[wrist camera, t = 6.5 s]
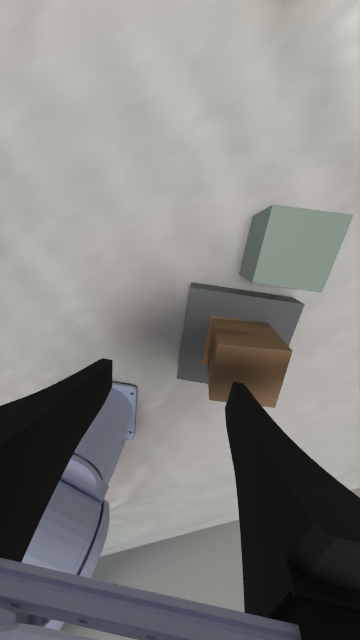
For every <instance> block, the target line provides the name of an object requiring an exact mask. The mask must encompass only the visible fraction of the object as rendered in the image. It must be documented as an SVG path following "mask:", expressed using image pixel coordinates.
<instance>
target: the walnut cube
mask: <svg viewBox="0 0 360 640" xmlns="http://www.w3.org/2000/svg"><path fill="white" fill-rule="evenodd" d="M291 354H292V350H291V349H290V348H289V346H288V345H287V344H286V343H285V342H284V341H283V340H282V338H281V337H280V336H279V335H278V334H277V333H276V331H275V330H274V329H273V328H272V327H271V326H270V325H269V323H262V322H250V321H239V320H227V319H215V318H213V323H212V331H211V339H210V347H209V355H208V363H207V365H208V383H209V400H214V401H222V402H227V400H228V397H229V394H230V390H231V387H232V384H233V382H239V383H244V384H245V386H246V387H247V388H248V389H249V391H250V392H251V393H252V395H253V396H254V397H255V399H256V400H257V401H258V402H259V404H260V405H261V406H265V407H273V408H275V406H276V402H277V399H278V396H279V393H280V390H281V386H282V383H283V380H284V377H285V373H286V370H287V367H288V364H289V361H290V357H291Z"/></svg>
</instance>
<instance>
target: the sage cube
mask: <svg viewBox="0 0 360 640" xmlns="http://www.w3.org/2000/svg"><path fill="white" fill-rule="evenodd" d="M352 217H353V215H352V214H344V213H336V212H327V211H319V210H311V209H302V208H294V207H285V206H277V205H272V206H270V207H268V208H266V209H265V210H263V211H261V212H259V213H258V214H256V215H254V216H253V218H252V222H251V227H250V231H249V235H248V239H247V244H246V248H245V252H244V257H243V261H242V265H241V269H240V275H242V276H243V277H245V278H246V279H248V280H249V281H250V282H252V283H257V284H264V285H271V286H278V287H286V288H293V289H300V290H307V291H314V292H322V291H323V289H324V286H325V284H326V281H327V279H328V276H329V274H330V271H331V269H332V266H333V264H334V261H335V259H336V257H337V254H338V252H339V249H340V247H341V244H342V242H343V239H344V237H345V234H346V232H347V229H348V227H349V224H350V222H351V219H352Z"/></svg>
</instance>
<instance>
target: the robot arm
mask: <svg viewBox="0 0 360 640" xmlns="http://www.w3.org/2000/svg"><path fill="white" fill-rule="evenodd" d="M132 392H133V393H132ZM136 396H137V388H136V387H135V386H132V385H126V384H120V383H114V382H112V360H109V359H104V358H102V359H100V360H98V361H96V362H95V363H93V364H91V365H89V366H88V367H86V368H84V369H82V370H81V371H79V372H77V373H75V374H73V375H72V376H70V377H68V378H66V379H64V380H62V381H60V382H58V383H56V384H54V385H52V386H50V387H48V388H45V389H43V390H41V391H39V392H36V393H34V394H31V395H29V396H26V397H24V398H21V399H18V400H16V401H13V402H10V403H7V404H5V405H2V406H0V640H97V639H92V638H88V637H84V636H80V635H75V634H71V633H67V632H63V631H59V630H60V628H61V626H62V624H63V623H64V622H65V623H69V624H74V625H78V626H82V627H86V628H91V629H95V630H99V631H103V632H107V633H112V634H116V635H120V636H124V637H129V638H133V639H137V640H360V498H359V497H358V496H357V495H355V494H354V493H353V492H351V491H350V490H349V489H348V488H346V487H345V486H344V485H342V484H341V483H340V482H339V481H337V480H336V479H335V478H334V477H332V476H331V475H330V474H329V473H328V472H326V471H325V470H324V469H323V468H322V467H320V466H319V465H318V464H317V463H316V462H315V461H314V460H313V459H311V458H310V457H309V456H308V455H307V454H306V453H305V452H304V451H303V450H301V449H300V448H299V447H298V446H297V445H296V444H295V443H294V442H293V441H292V440H291V439H290V438H289V437H288V436H287V435H286V434H285V433H284V432H283V430H282V429H281V428H280V427H279V426H278V425H277V424H276V423H275V422H274V420H273V419H272V418H271V417H270V416H269V415H268V413H267V412H266V411H265V410H264V409H263V407H262V406H261V405H260V404H259V402H258V401H257V400H256V399H255V397H254V396H253V395H252V393H251V392H250V391H249V389H248V388H247V387H246V386H245V384H244V383H239V382H233V384H232V387H231V390H230V394H229V397H228V400H227V404H226V407H225V414H226V427H227V433H228V438H229V444H230V449H231V454H232V460H233V465H234V471H235V478H236V487H237V497H238V508H239V520H240V533H241V548H242V563H243V584H244V606H245V613H243V612H239V611H234V610H230V609H225V608H221V607H217V606H212V605H207V604H203V603H199V602H194V601H190V600H185V599H181V598H177V597H172V596H167V595H163V594H159V593H154V592H150V591H145V590H140V589H136V588H132V587H128V586H122V585H119V584H114V583H109V582H105V581H101V580H96V579H92V578H90V577H91V575H92V573H93V571H94V569H95V566H96V564H97V562H98V560H99V557H100V554H101V552H102V549H103V546H104V543H105V540H106V536H107V532H108V528H109V520H110V516H109V503H108V502H107V501H106V500H104V497H105V495H106V492H107V489H108V487H109V486H108V484H109V482H110V480H111V478H112V475H113V472H114V470H115V467H116V465H117V462H118V459H119V457H120V454H121V452H122V449H123V446H124V444H125V441H126V439H133V438H134V436H135V416H136Z"/></svg>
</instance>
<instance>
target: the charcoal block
mask: <svg viewBox="0 0 360 640" xmlns="http://www.w3.org/2000/svg"><path fill="white" fill-rule="evenodd" d="M303 307H304V304H303V303H301V302H300V301H298V300H296V299H294V298H292V297H287V296H280V295H273V294H266V293H260V292H253V291H246V290H239V289H232V288H225V287H218V286H212V285H205V284H198V283H191V287H190V293H189V300H188V307H187V314H186V320H185V327H184V334H183V340H182V347H181V354H180V361H179V367H178V374H177V379H183V380H189V381H195V382H201V383H207V384H209V383H208V365H207V363H208V355H209V347H210V339H211V331H212V323H213V318H215V319H227V320H239V321H250V322H262V323H269V325H270V326H271V327H272V328H273V329H274V330H275V331H276V333H277V334H278V335H279V336H280V337H281V338H282V340H283V341H284V342H285V343H286V344H287V345H288V346H289V344H290V341H291V338H292V336H293V333H294V331H295V328H296V325H297V323H298V320H299V317H300V315H301V312H302V310H303Z"/></svg>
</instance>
